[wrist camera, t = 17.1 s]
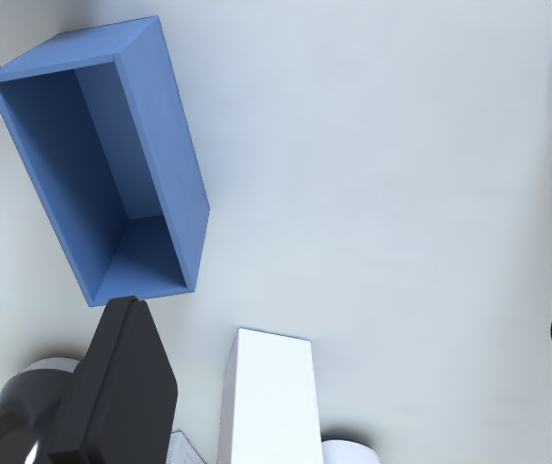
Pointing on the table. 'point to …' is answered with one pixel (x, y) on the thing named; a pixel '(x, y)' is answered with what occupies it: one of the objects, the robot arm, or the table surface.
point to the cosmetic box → (181, 451)
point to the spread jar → (347, 451)
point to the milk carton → (269, 402)
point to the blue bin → (111, 158)
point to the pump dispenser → (31, 408)
